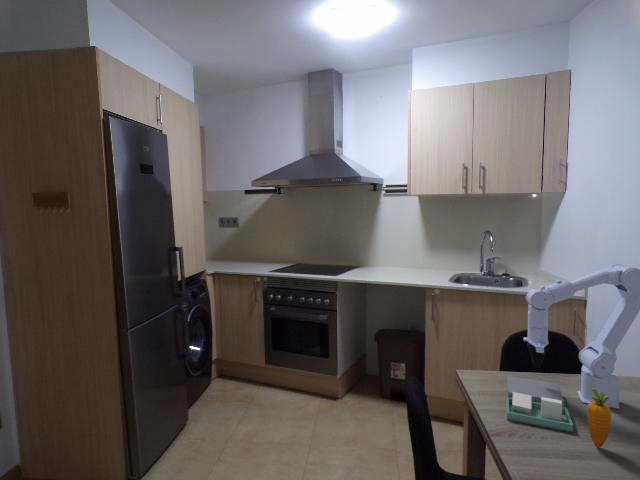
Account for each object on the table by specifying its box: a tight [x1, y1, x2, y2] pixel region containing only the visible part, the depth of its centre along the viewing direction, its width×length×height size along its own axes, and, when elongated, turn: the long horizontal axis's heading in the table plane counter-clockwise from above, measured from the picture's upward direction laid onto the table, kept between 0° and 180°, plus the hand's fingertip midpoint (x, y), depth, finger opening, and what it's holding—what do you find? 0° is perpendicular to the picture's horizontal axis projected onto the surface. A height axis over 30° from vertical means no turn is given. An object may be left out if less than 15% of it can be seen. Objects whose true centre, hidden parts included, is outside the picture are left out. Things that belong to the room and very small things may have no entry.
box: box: [505, 396, 574, 434], centre depth 108 cm, size 16×10×2 cm, turn 65°
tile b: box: [512, 392, 531, 414], centre depth 112 cm, size 5×5×2 cm
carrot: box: [587, 388, 612, 449], centre depth 94 cm, size 5×5×15 cm
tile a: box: [541, 397, 562, 421], centre depth 108 cm, size 5×5×2 cm
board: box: [506, 375, 565, 407], centre depth 120 cm, size 15×13×4 cm
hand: (537, 366), depth 122 cm, fingers closed
